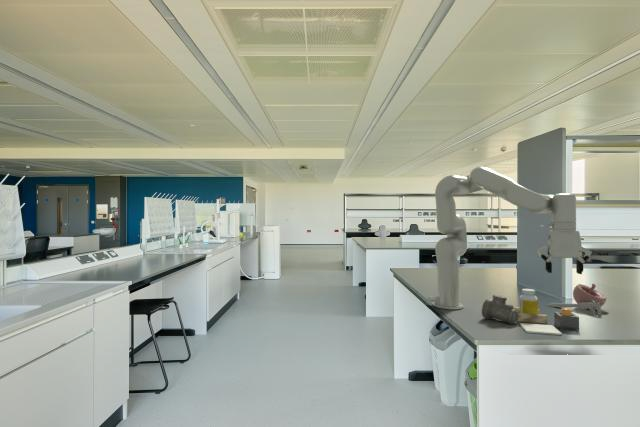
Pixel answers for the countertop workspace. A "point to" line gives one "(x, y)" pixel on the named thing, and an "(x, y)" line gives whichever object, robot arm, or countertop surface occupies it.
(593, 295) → the mortar and pestle
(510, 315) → the pipe fitting
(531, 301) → the pill bottle
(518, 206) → the robot arm
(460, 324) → the countertop surface
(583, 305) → the caliper
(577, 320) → the block
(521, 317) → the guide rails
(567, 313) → the plunger
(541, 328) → the pad
